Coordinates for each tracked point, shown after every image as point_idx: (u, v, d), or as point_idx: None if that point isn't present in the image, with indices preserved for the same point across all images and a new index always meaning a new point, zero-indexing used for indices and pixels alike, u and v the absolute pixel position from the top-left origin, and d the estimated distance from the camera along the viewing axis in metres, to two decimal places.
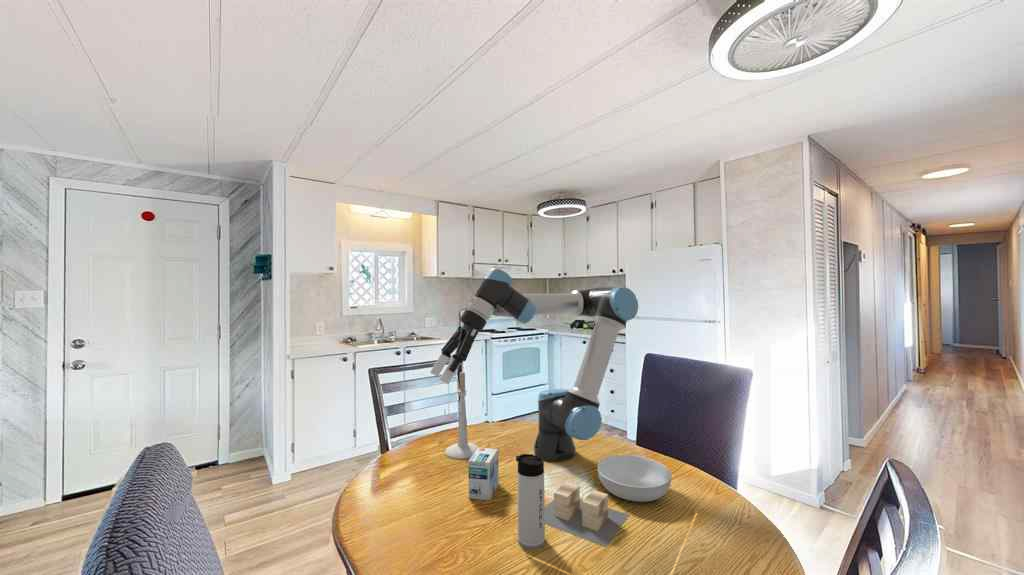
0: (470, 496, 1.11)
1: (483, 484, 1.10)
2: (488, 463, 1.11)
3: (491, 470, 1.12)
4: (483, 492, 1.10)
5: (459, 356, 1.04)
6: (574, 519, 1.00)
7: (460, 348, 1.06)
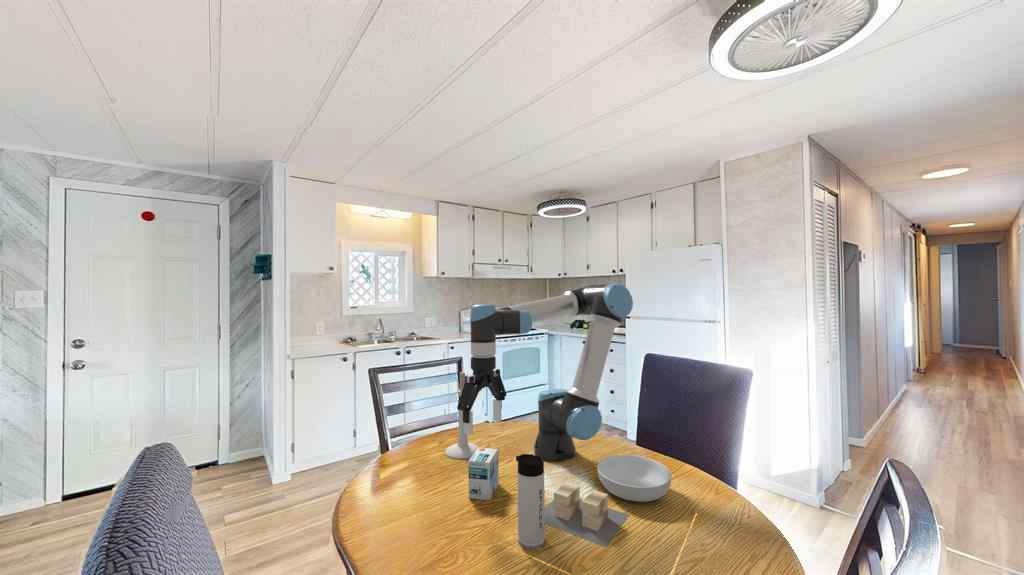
0: (470, 496, 1.11)
1: (483, 484, 1.10)
2: (488, 463, 1.11)
3: (491, 470, 1.12)
4: (483, 492, 1.10)
5: (458, 408, 1.09)
6: (574, 519, 1.00)
7: None
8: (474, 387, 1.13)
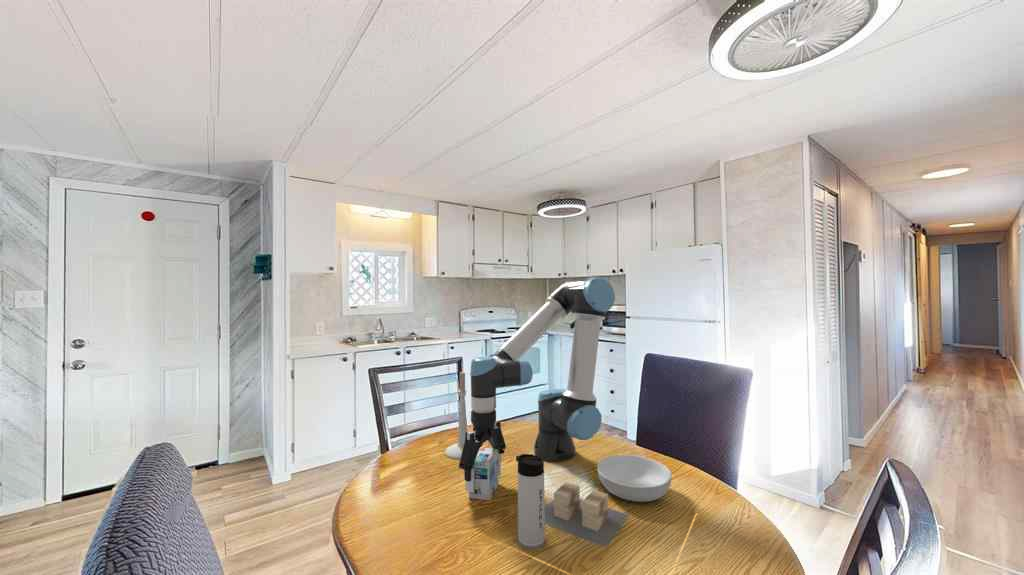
0: (470, 496, 1.11)
1: (483, 484, 1.10)
2: (488, 463, 1.11)
3: (491, 470, 1.12)
4: (483, 492, 1.10)
5: (459, 467, 1.09)
6: (574, 519, 1.00)
7: None
8: (475, 443, 1.13)
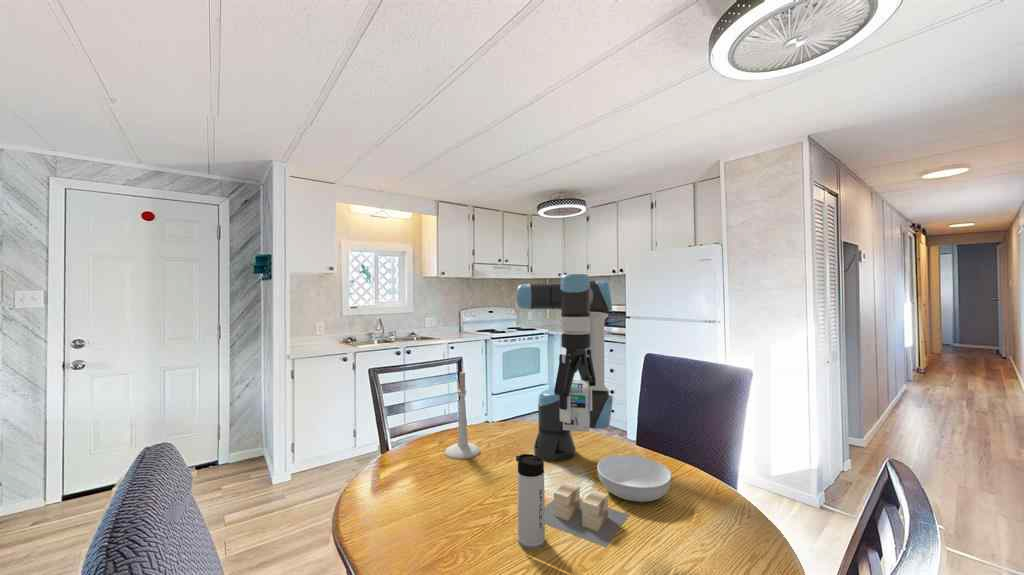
0: (565, 427, 0.97)
1: (580, 413, 0.96)
2: (586, 389, 0.97)
3: (588, 398, 0.98)
4: (580, 422, 0.96)
5: (555, 392, 0.95)
6: (574, 519, 1.00)
7: None
8: (569, 368, 0.99)
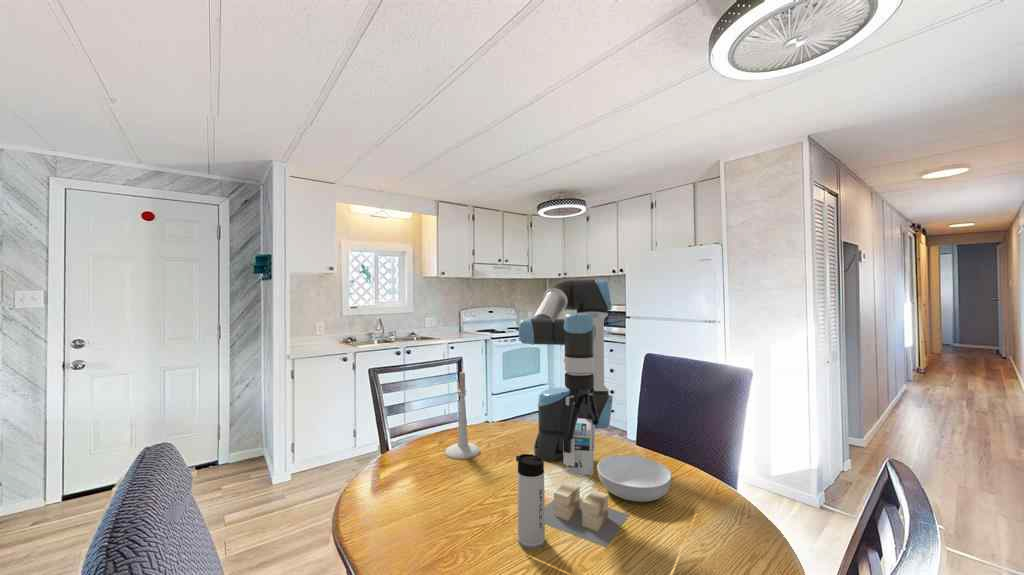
0: (569, 470, 0.97)
1: (584, 456, 0.96)
2: (590, 432, 0.96)
3: (592, 440, 0.97)
4: (584, 465, 0.96)
5: (559, 436, 0.94)
6: (574, 519, 1.00)
7: None
8: (572, 410, 0.98)
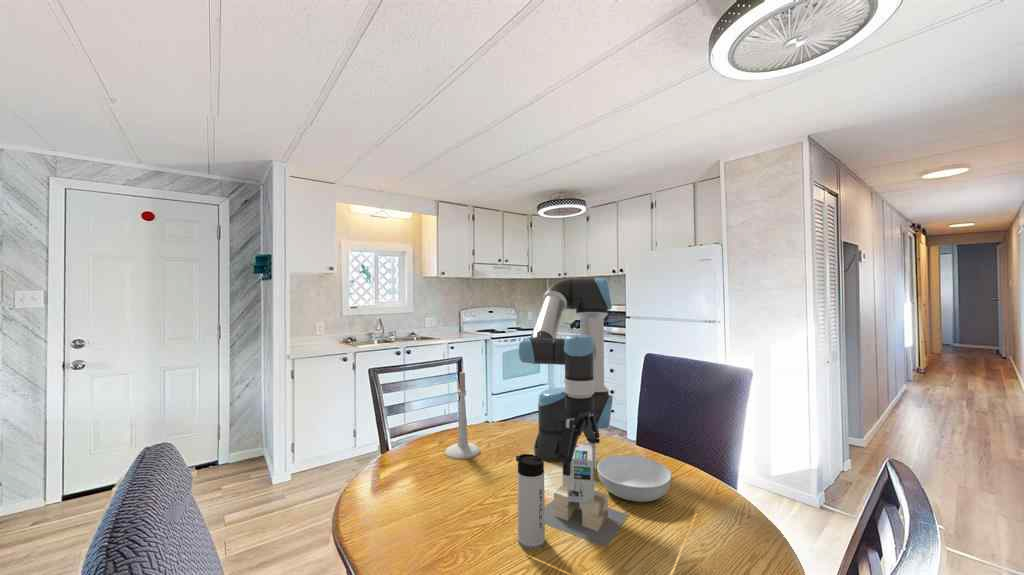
0: (569, 499, 0.97)
1: (585, 485, 0.96)
2: (591, 461, 0.96)
3: (593, 469, 0.97)
4: (585, 494, 0.96)
5: (558, 459, 0.94)
6: (574, 519, 1.00)
7: None
8: (572, 432, 0.98)
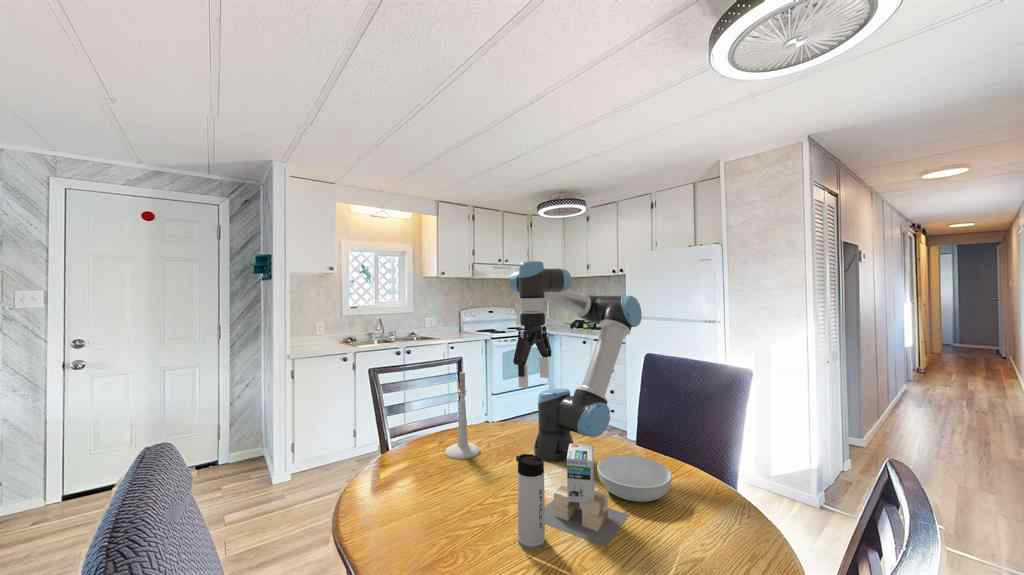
0: (569, 499, 0.97)
1: (585, 485, 0.96)
2: (591, 461, 0.96)
3: (593, 469, 0.97)
4: (585, 494, 0.96)
5: (514, 362, 1.10)
6: (574, 519, 1.00)
7: None
8: (526, 342, 1.15)
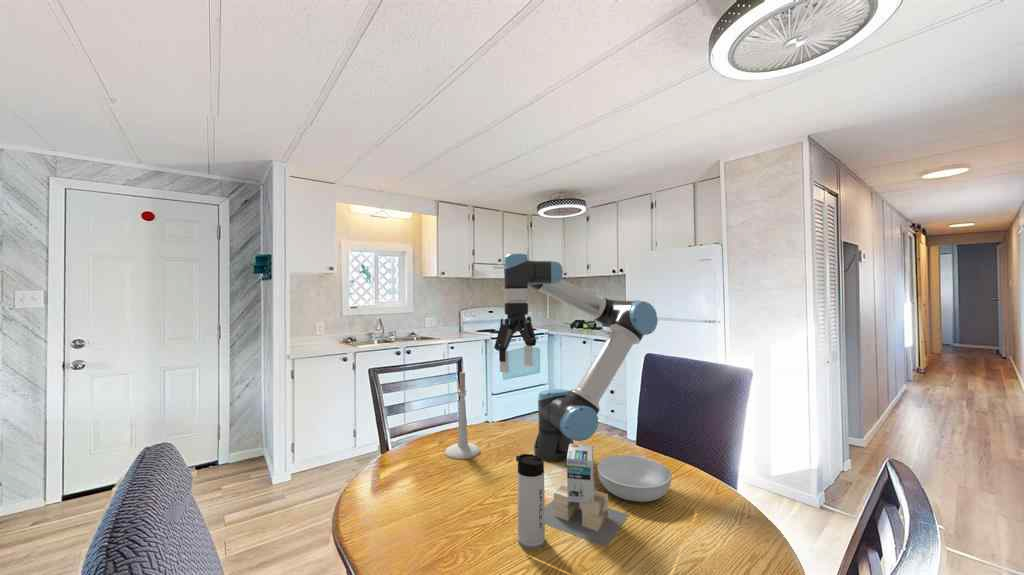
0: (569, 499, 0.97)
1: (585, 485, 0.96)
2: (591, 461, 0.96)
3: (593, 469, 0.97)
4: (585, 494, 0.96)
5: (495, 348, 1.17)
6: (574, 519, 1.00)
7: None
8: (509, 330, 1.21)
